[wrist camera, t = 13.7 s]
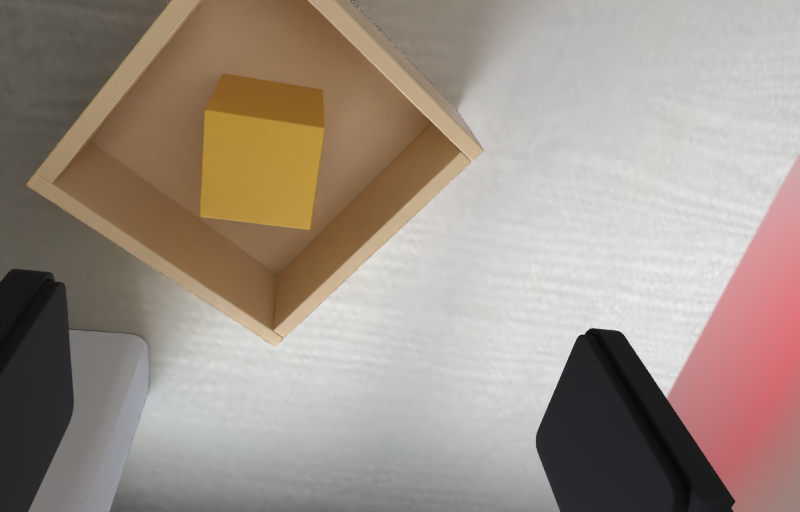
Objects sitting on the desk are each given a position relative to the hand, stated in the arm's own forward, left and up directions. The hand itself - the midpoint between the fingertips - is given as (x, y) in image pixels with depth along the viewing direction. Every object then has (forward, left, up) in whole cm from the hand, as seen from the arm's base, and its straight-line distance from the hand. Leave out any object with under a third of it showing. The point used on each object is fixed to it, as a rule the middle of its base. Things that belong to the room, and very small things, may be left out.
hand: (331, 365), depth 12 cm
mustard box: (+3, +1, -20) cm, 20 cm away
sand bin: (+3, +1, -21) cm, 21 cm away
